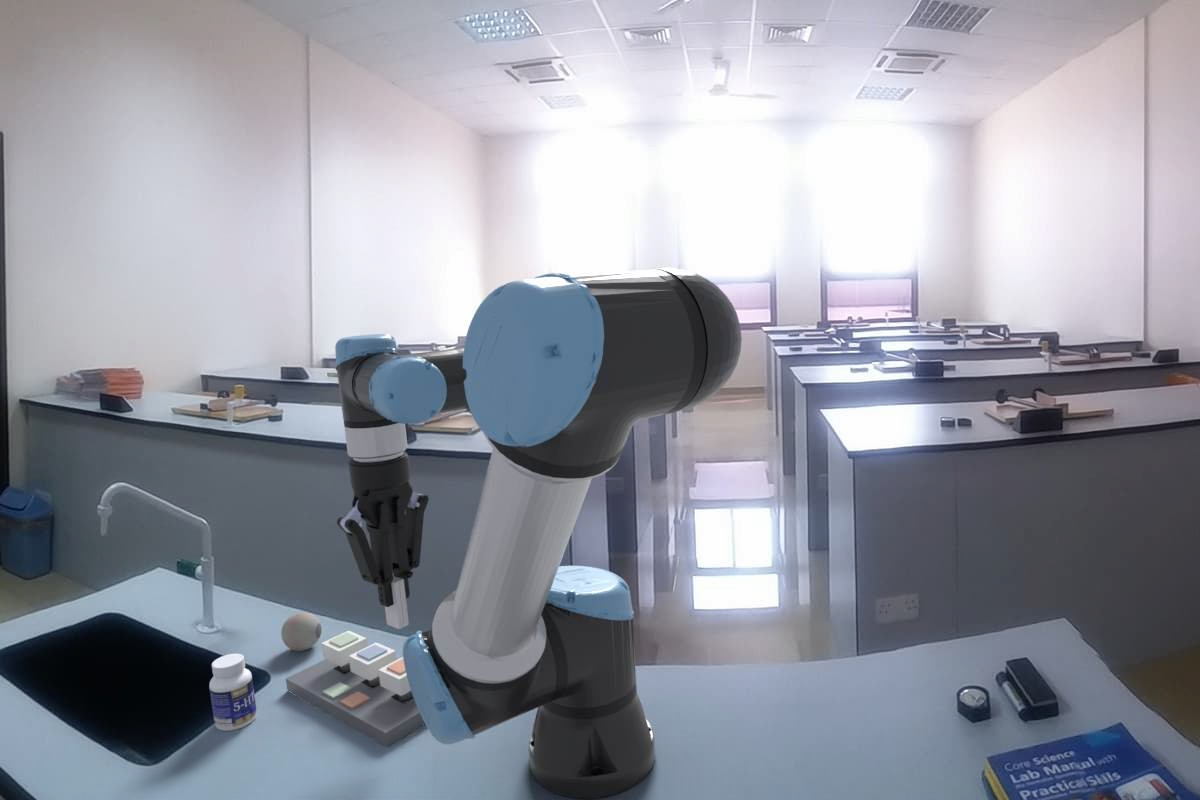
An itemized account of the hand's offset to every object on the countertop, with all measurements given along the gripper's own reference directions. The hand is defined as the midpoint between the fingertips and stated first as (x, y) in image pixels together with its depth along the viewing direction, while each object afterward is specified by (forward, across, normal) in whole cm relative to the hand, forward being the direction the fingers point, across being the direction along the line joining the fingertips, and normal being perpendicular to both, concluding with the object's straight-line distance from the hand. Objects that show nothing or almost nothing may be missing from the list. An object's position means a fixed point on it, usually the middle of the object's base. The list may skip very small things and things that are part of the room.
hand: (397, 624), depth 103 cm
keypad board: (+12, +1, -7) cm, 14 cm away
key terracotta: (+11, 0, 0) cm, 11 cm away
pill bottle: (+13, +15, -18) cm, 27 cm away
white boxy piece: (+11, 0, -7) cm, 13 cm away
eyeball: (+13, -2, -29) cm, 32 cm away
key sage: (+11, 0, -14) cm, 18 cm away
